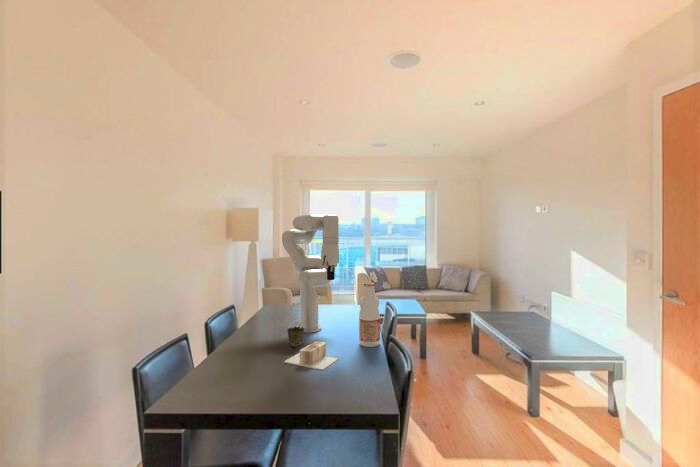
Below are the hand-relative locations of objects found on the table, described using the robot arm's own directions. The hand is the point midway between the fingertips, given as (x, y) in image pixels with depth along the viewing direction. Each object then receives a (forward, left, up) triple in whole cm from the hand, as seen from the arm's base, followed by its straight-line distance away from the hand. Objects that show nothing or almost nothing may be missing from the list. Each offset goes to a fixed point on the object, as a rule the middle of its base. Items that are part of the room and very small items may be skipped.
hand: (330, 279), depth 161 cm
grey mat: (+5, -25, -29) cm, 39 cm away
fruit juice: (+18, +4, -29) cm, 35 cm away
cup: (-11, -13, -29) cm, 34 cm away
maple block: (+5, -17, -26) cm, 32 cm away
